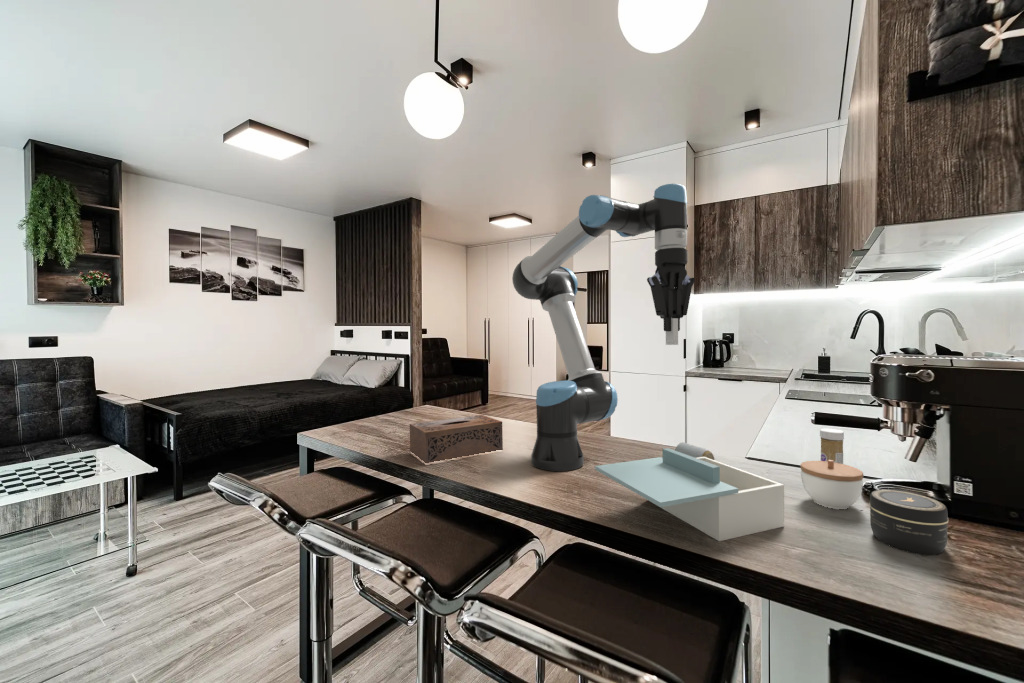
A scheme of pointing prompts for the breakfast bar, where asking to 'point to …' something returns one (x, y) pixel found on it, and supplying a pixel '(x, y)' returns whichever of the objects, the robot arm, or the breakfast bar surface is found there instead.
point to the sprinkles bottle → (832, 445)
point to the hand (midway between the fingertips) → (671, 344)
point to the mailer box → (735, 506)
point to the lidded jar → (832, 483)
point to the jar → (909, 521)
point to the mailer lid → (669, 478)
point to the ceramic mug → (693, 451)
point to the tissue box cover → (455, 437)
